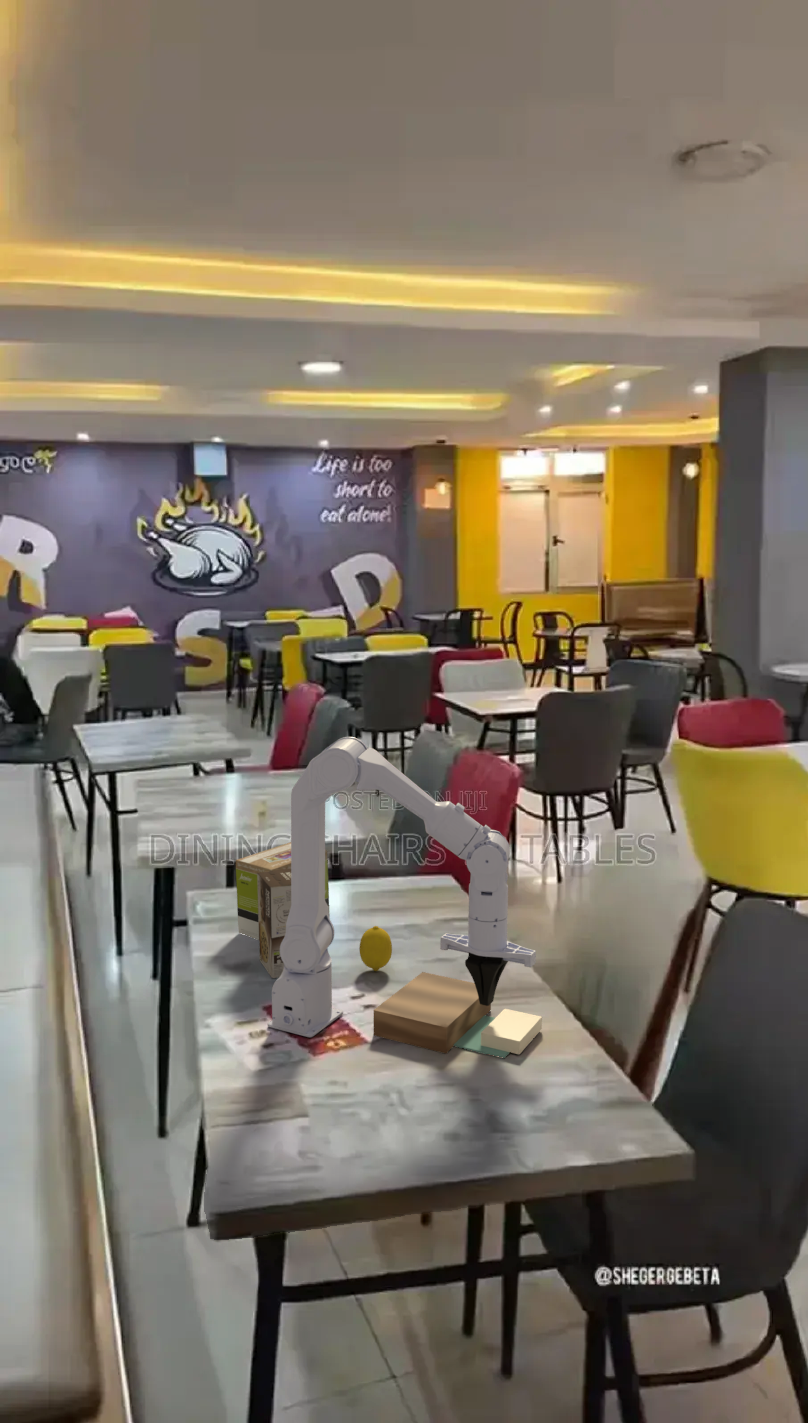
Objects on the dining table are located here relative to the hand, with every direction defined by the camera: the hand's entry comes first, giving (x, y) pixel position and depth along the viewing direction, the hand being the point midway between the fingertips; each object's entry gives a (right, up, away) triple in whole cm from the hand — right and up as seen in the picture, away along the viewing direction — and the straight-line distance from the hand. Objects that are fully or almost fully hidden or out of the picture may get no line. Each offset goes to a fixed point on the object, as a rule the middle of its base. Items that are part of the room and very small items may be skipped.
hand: (486, 1002), depth 160 cm
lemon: (-17, -1, +24) cm, 29 cm away
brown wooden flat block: (-8, -4, +4) cm, 10 cm away
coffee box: (-33, -1, +26) cm, 42 cm away
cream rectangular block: (+4, -3, -1) cm, 5 cm away
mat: (+1, -5, 0) cm, 5 cm away
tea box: (-35, +2, +43) cm, 56 cm away
